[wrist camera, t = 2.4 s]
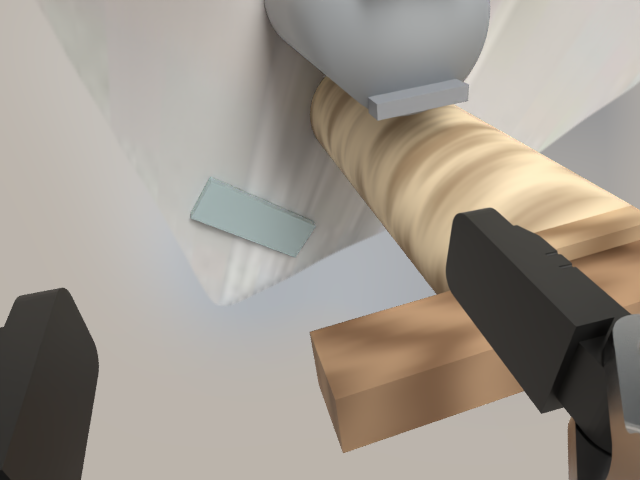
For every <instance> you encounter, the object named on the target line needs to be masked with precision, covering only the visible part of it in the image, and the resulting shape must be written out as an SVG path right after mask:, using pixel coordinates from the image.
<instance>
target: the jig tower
mask: <svg viewBox="0 0 640 480" xmlns="http://www.w3.org/2000/svg"><path fill="white" fill-rule="evenodd" d="M310 121H311V126H312V130H313V132H314V135H315V137H316V139H317V140H318V141H319V143H320V144H321V145H322V147H323V148H324V149H325V151H326V152H327V153H328V154H329V156H330V157H331V158H332V160H333V161H334V162H335V164H336V165H337V166H338V167H339V169H340V170H341V171H342V173H343V174H344V175H345V176H346V178H347V179H348V180H349V182H350V183H351V184H352V186H353V187H354V188H355V189H356V191H357V192H358V193H359V195H360V196H361V197H362V198H363V200H364V201H365V202H366V204H367V205H368V206H369V207H370V209H371V210H372V211H373V213H374V214H375V215H376V217H377V218H378V219H379V220H380V222H381V223H382V224H383V226H384V227H385V228H386V229H387V231H388V232H389V233H390V234H391V236H392V237H393V238H394V240H395V241H396V242H397V244H398V245H399V246H400V247H401V249H402V250H403V251H404V253H405V254H406V255H407V257H408V258H409V259H410V260H411V262H412V263H413V264H414V265H415V267H416V268H417V270H418V271H419V272H420V273H421V275H422V276H423V277H424V279H425V280H426V281H427V282H428V284H429V285H430V286H431V287H432V289H433V290H434V291H435V293H436V294H441V293H444V292H447V291H450V289H449V286H448V283H447V279H446V262H447V255H448V248H449V242H450V235H451V228H452V222H453V219H454V217H455V215H456V214H458V213H462V212H468V211H473V210H478V209H483V208H489V207H490V208H493V209H495V210H496V211H498V212H499V213H500V214H501V215H502V216H503V217H504V218H505V219H507V220H508V221H509V222H510V223H511V224H512V225H513V226H514V225H518V226H520V227H522V228H525V229H527V230H529V231H531V232H533V233H535V234H537V235H539V236H541V237H542V238H543V239H544V240H545V241H547V242H548V243H549V244H550V245H551V246H552V247H554V248H555V249H556V250H557V251H558V254H562V255H563V256H564V257H565V258H566V259H568V260H569V261H570V260H574V259H577V258H580V257H584V256H587V255H590V254H594V253H597V252H601V251H604V250H607V249H611V248H614V247H617V246H621V245H624V244H628V243H631V242H634V241H638V240H640V210H639V209H637V208H635V207H634V206H632V205H630V204H628V203H627V202H624V201H623V200H621V199H620V198H618V197H616V196H614V195H612V194H611V193H609V192H607V191H606V190H604V189H602V188H600V187H598V186H597V185H595V184H593V183H591V182H590V181H588V180H586V179H584V178H582V177H581V176H579V175H577V174H575V173H574V172H572V171H570V170H568V169H567V168H565V167H563V166H561V165H560V164H558V163H556V162H554V161H553V160H551V159H549V158H547V157H546V156H544V155H542V154H540V153H539V152H537V151H535V150H533V149H531V148H530V147H528V146H526V145H524V144H523V143H521V142H519V141H517V140H516V139H514V138H512V137H510V136H509V135H507V134H505V133H503V132H501V131H500V130H498V129H496V128H494V127H493V126H491V125H489V124H487V123H486V122H484V121H482V120H480V119H479V118H477V117H475V116H473V115H472V114H470V113H468V112H466V111H464V110H463V109H461V108H459V107H457V106H456V105H454V104H452V105H447V106H443V107H438V108H434V109H429V110H426V111H424V112H421V113H418V114H414V115H409V116H397V117H392V118H388V119H383V120H379V121H377V120H376V119H375V118H374V117H373V116H372V115H370V114H369V110H368V109H367V108H366V107H364V106H363V105H361V104H360V103H359V102H358V101H356V100H355V99H354V98H353V97H351V96H350V95H349V94H348V93H347V92H345V91H344V90H343V89H342V88H341V87H339V86H338V85H337V84H336V83H335V82H333V81H332V80H331V79H330V78H329V77H327V76H326V77H325V78H324V79H323V80H322V81H321V83H320V84H319V86H318V88H317V89H316V92H315V94H314V96H313V100H312V103H311V109H310Z"/></svg>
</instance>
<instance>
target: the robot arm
mask: <svg viewBox="0 0 640 480" xmlns="http://www.w3.org/2000/svg"><path fill="white" fill-rule="evenodd" d="M446 279H447V283H448V286H449V289H450V291H451V293H452V294H453V296H454V297H455V299H456V300H457V301H458V303H459V304H460V305H461V307H462V308H463V309H464V311H465V312H466V313H467V315H468V316H469V317H470V319H471V320H472V321H473V323H474V324H475V325H476V327H477V328H478V329H479V331H480V332H481V333H482V335H483V336H484V338H485V339H486V340H487V342H488V343H489V344H490V346H491V347H492V348H493V350H494V351H495V352H496V354H497V355H498V356H499V358H500V359H501V360H502V362H503V363H504V364H505V366H506V367H507V368H508V370H509V371H510V372H511V374H512V375H513V376H514V378H515V379H516V380H517V382H518V383H519V384H520V386H521V387H522V388H523V390H524V391H525V392H526V394H527V395H528V396H529V398H530V399H531V401H532V402H533V403H534V404H535V406H536V407H537V408H538V410H539V411H540V413H541V414H542V413H546V412H549V411H553V410H556V409H560V408H563V407H564V408H565V409H566V410H567V412H568V413H569V414H570V416H571V419H570V421H569V423H568V464H569V480H640V314H630V313H629V312H628V311H627V310H626V309H624V308H623V307H622V306H621V305H620V304H619V303H617V302H616V301H615V300H614V299H613V298H612V297H611V296H609V295H608V294H607V293H606V292H605V291H604V290H602V289H601V288H600V287H599V286H598V285H597V284H595V283H594V282H593V281H592V280H591V279H590V278H588V277H587V276H586V275H585V274H584V273H583V272H581V271H580V270H579V269H578V268H577V267H573V266H572V263H571V262H570V261H569V260H568V259H566V258H565V257H564V256H563V255H562V254H558V251H557V250H556V249H555V248H554V247H552V246H551V245H550V244H549V243H548V242H547V241H545V240H544V239H543V238H542V237H541V236H539V235H537V234H535V233H533V232H531V231H529V230H527V229H525V228H522V227H520V226H518V225H514V226H513V225H512V224H511V223H510V222H509V221H508V220H507V219H505V218H504V217H503V216H502V215H501V214H500V213H499V212H498V211H496V210H495V209H493V208H490V207H489V208H483V209H478V210H473V211H468V212H462V213H458V214H456V215H455V217H454V219H453V222H452V228H451V235H450V242H449V248H448V255H447V262H446ZM98 372H99V362H98V354H97V350H96V346H95V343H94V341H93V339H92V337H91V335H90V333H89V331H88V329H87V327H86V324H85V322H84V321H83V318H82V316H81V314H80V312H79V310H78V308H77V306H76V304H75V302H74V300H73V298H72V296H71V294H70V293H69V291H68V290H67V289H65V288H59V289H53V290H48V291H43V292H37V293H33V294H27V295H22V296H19V297H18V298H17V299H16V300H15V302H14V304H13V307H12V309H11V311H10V314H9V316H8V318H7V321H6V323H5V326H4V327H1V328H0V480H81V475H82V469H83V462H84V457H85V451H86V445H87V439H88V433H89V426H90V421H91V415H92V409H93V403H94V397H95V391H96V385H97V378H98Z"/></svg>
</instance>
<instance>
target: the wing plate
mask: <svg viewBox="0 0 640 480" xmlns="http://www.w3.org/2000/svg"><path fill="white" fill-rule="evenodd" d="M191 219H194V220H197V221H199V222H202V223H205V224H207V225H210V226H213V227H215V228H218V229H221V230H223V231H226V232H228V233H231V234H234V235H236V236H239V237H242V238H244V239H247V240H250V241H252V242H255V243H258V244H260V245H263V246H266V247H268V248H271V249H274V250H276V251H279V252H282V253H284V254H287V255H289V256H292V257H296V256H297V254H298V253H299V251H300V250H301V248H302V247H303V245H304V244H305V242H306V241H307V239H308V238H309V236H310V235H311V233H312V232H313V230H314V229H315V227H316V225H315V224H314V222H313V221H311V220H309V219H306V218H304V217H302V216H299V215H297V214H295V213H292V212H290V211H288V210H286V209H283V208H281V207H279V206H276V205H274V204H272V203H269V202H267V201H265V200H263V199H260V198H258V197H256V196H253V195H251V194H249V193H246V192H244V191H242V190H240V189H237V188H235V187H233V186H230V185H228V184H226V183H223V182H221V181H219V180H217V179H214V178H212V177H210V178H209V180H208V182H207V184H206V186H205V188H204V189H203V191H202V193H201V195H200V197H199V199H198V201H197V202H196V204H195V206H194V208H193V210H192V212H191Z"/></svg>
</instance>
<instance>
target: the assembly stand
mask: <svg viewBox="0 0 640 480" xmlns="http://www.w3.org/2000/svg"><path fill="white" fill-rule="evenodd" d="M264 4H265V8H266V13H267V15H268V18H269V21H270V23H271V25H272V26H273V28H274V30H275V31H276V32H277V34H278V35H279V36H280V37H281V38H282V39H283V40H284V41H285V42H286V43H288V44H289V45H290V46H291V47H293V48H294V49H295V50H296V51H297V52H299V53H300V54H301V55H302V56H303V57H305V58H306V59H307V60H308V61H309V62H311V63H312V64H313V65H314V66H315V67H317V68H318V69H319V70H320V71H321V72H323V73H324V74H325V75H326V76H327V77H329V78H330V79H331V80H332V81H333V82H335V83H336V84H337V85H338V86H339V87H341V88H342V89H343V90H344V91H345V92H347V93H348V94H349V95H350V96H351V97H353V98H354V99H355V100H356V101H358V102H359V103H360V104H361V105H363V106H364V107H366V108H367V109H368V110H369V114H370V115H372V116H373V117H374V118H375V119H376V120H377V121H379V120H383V119H388V118H392V117H397V116H409V115H414V114H418V113H421V112H424V111H426V110H429V109H434V108H438V107H443V106H447V105H452V104H456V103H461V102H466V101H468V92H469V85H468V84H466V83H464V80H465V79H466V78H467V76H468V75H469V74H470V72H471V70H472V69H473V67H474V65H475V64H476V62H477V60H478V58H479V55H480V53H481V51H482V48H483V45H484V42H485V39H486V35H487V31H488V26H489V19H490V0H264Z"/></svg>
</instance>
